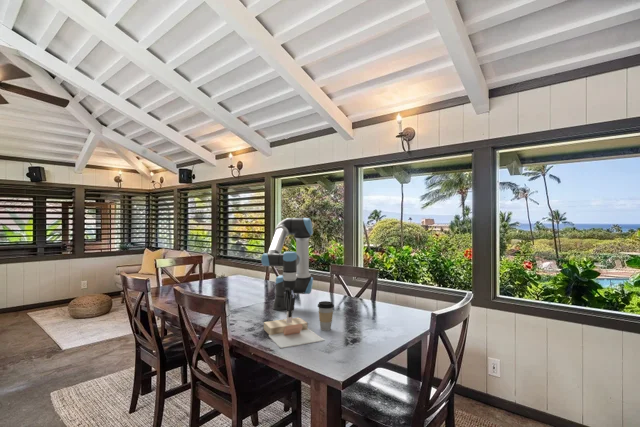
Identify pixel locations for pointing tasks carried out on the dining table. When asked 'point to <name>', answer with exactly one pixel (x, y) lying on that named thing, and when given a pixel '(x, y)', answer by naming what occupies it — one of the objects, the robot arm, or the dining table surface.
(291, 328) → the tile
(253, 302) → the dining table surface
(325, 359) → the dining table surface
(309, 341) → the mat
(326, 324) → the coffee cup
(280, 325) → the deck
